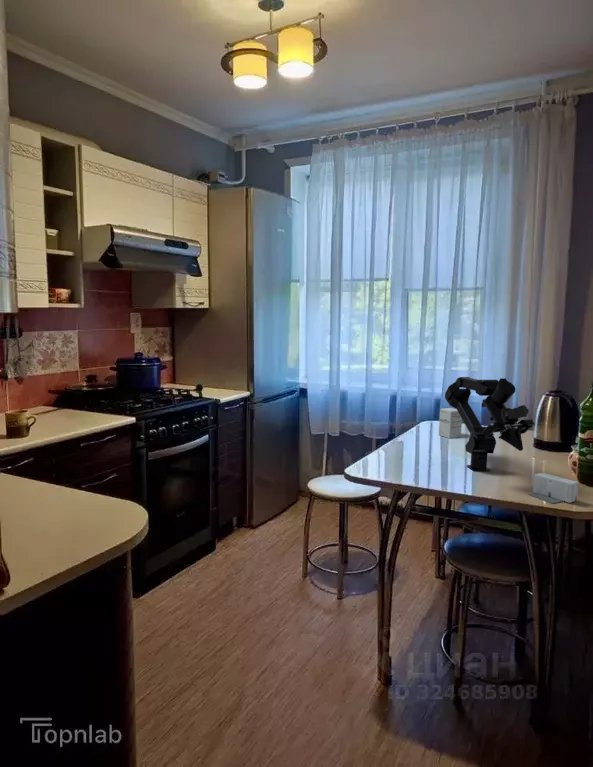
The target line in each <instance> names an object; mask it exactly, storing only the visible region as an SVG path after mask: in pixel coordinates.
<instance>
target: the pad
mask: <svg viewBox="0 0 593 767" xmlns="http://www.w3.org/2000/svg"><path fill="white" fill-rule="evenodd" d="M528 495H529V496H531V497H533V498H536V499H538V498H539V499H538V500H541V499H542V501H543V502H546V501H547V503H549V504H553V505H554V504H558V503H559V504H560V503H564V501H562V500H558V499H555V498H552V497H548V496H545V495H541V494H538V493H535V492H532V493H531V492H530V493H527V496H528Z"/></svg>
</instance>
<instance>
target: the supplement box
mask: <svg viewBox="0 0 593 767" xmlns="http://www.w3.org/2000/svg"><path fill="white" fill-rule="evenodd" d="M462 423H463V420H462V418H461V416H460V414H459V412H458V411H457V409H456V408H454V407H448V408H447V407H444V408H440V409H439V424H438V436H442V437H444V438H448V439H456V438H455V437H458V438H462V425H463V424H462Z"/></svg>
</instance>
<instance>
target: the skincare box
mask: <svg viewBox="0 0 593 767" xmlns="http://www.w3.org/2000/svg"><path fill="white" fill-rule="evenodd" d="M532 490H533V493H538V494H541V495H545V496H548V497H552V498H555V499H558V500H562V501H565V503H568V504H569V503H573V502H576V501H578V494H579V482H578V481H576V480H573V479H572V480H571V479H567V478H564V477H561V476H557V475H553V474H549V473H544V472H540V473H539V472H538V473H535V474H534V479H533V489H532Z"/></svg>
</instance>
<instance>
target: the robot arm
mask: <svg viewBox="0 0 593 767" xmlns="http://www.w3.org/2000/svg"><path fill="white" fill-rule="evenodd" d="M471 391H475V394H476V395H479V396H481V397H484V396H485V397H486V398H484V399H482V402H481V408H486V410H487V411H488V413H489V415H490V416H491V417H490V418H489V420H490V421H492V422H490V423H489V424H488V425H487V426H482V424H481V422H480V421H479V419H478V417H477V415H476V414H475V412H474V410H473V409H472V407H471V406H470V404H469V400H470V396H471V394H472V392H471ZM515 393H516V387H515V385H514V384H513V383H512V382H510V381H508V380H507V378H501V377H500V378H499V380H498V379H477V378H472V377H470V376H459V377H457V378H456V380H455V381H454V382H452V384H450V385H448V387H447V389H446V391H445V393H444V398H445V400H446V402H447V404H449V406H451V408H454V409H457V411H458V412H459V414H460V416H461V418H462V423H464V425H465V427H466V429H467V430H468V432H469V438H468V441H467V442H466V444H465V445H464V446H465V452H467V453H469V454H470V464H467V465H466V467H467V468H468V469H469V470H472V471H473V472H488V471H489V472H490V471H491V469H490V468H489V467H487V466H488V454H494V451H495V449H496V448H495V447H496V445H497V440H496V437H495V435H494V433H499V434H500V435H499V436H498V439H500V440H501V441H504V442H506V443H507V444H509V445H511V447H513V448H515V449H516V450H518V451H523V450H524V445H523V440H522V435H523V434H525V433H526V432H528V431H529V430H530V429H531V428H533V427H534V426H535V425H536V424H535V422H534V421H533V419H530V418H526V417H527V416H528V414H529V409H528V407H527V406H526V405H525V404H523V405H518V406H517V407H514V408H510V407H507V406H506V403H508V401H509V400H510V399H511V398H512V397H513V395H514V394H515ZM521 418H523V419H521ZM517 422H518V423H517Z"/></svg>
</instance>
